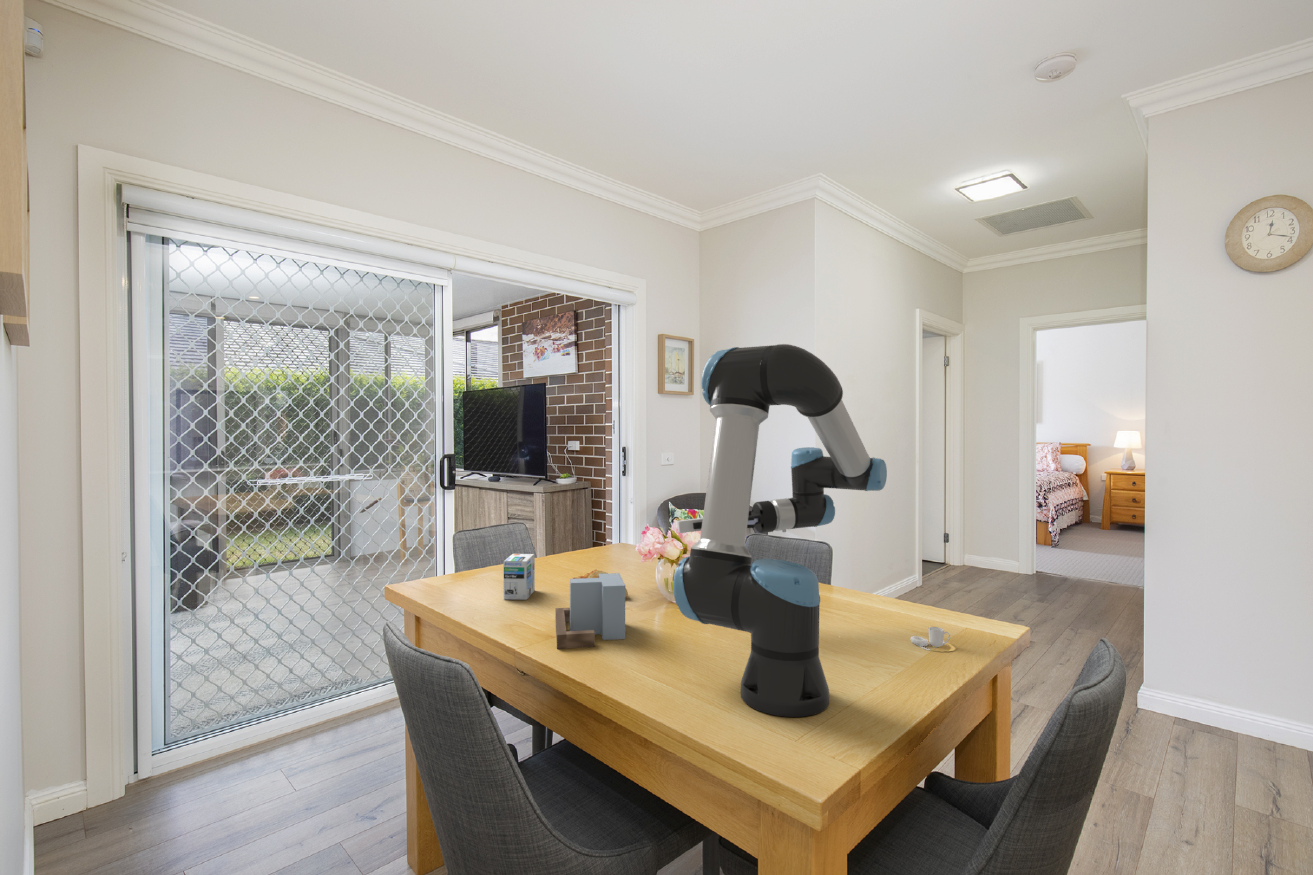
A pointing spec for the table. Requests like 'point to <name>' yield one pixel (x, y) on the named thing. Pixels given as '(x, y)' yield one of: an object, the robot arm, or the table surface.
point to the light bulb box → (519, 576)
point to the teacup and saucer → (931, 638)
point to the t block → (598, 605)
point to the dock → (571, 632)
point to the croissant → (596, 575)
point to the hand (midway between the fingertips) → (678, 526)
